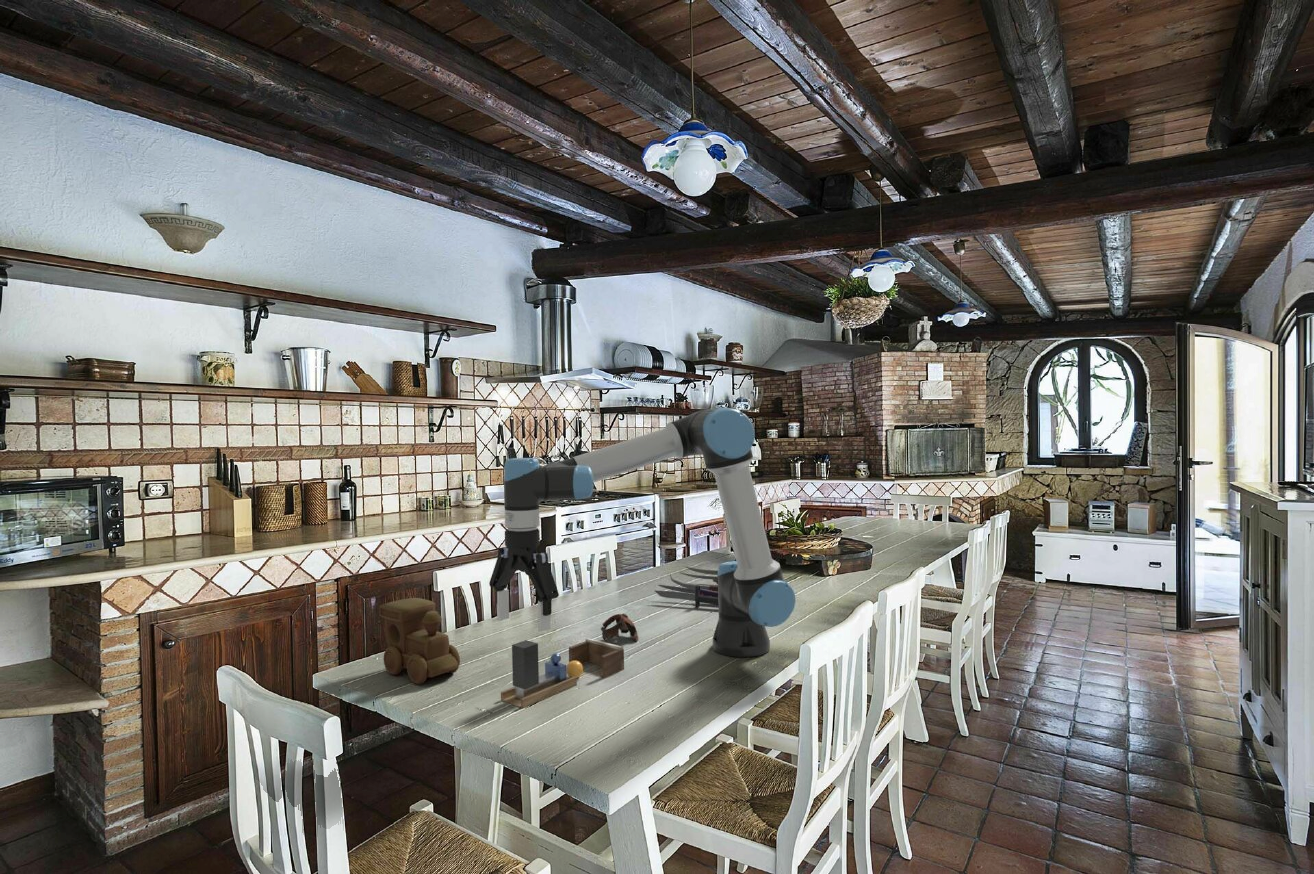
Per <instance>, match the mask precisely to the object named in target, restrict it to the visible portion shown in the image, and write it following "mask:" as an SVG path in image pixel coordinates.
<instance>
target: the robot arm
mask: <svg viewBox="0 0 1314 874" xmlns="http://www.w3.org/2000/svg"><path fill="white" fill-rule="evenodd" d="M755 438H756V435H755V428H754V424H753V423H752V421H751V419H750V418H749V417H748V416H747V415H746V414H745V413H743V412H742V411H740V410H739V409H735V408H730V407H718V408H717V407H716V408H705V409H701V410H698V411H695V412H693V413H691V414H689V415H686V416H684V417H682V418H679V419H676V420H674V421H671V422H670V421H669V422H667V423H666V426H665V427H664V428H661V429H658V430H655V431H652V432H649V433H646V434H642V435H639V436H635V437H633V438H629V439H627V440H623V441H620V442H617V443H614V444H610V445H608V446H604V447H602V448H599V449H594V450H592V451H589V452H586V453H582V454H579V455H576V456H573V457H570V458H566V459H564V460H561V461H552V462H549V463H547V464H545V465H544V466H542V465H541V466H540V463H539V459H538V458H535V457H513V458H508V459H507V460H506V461H505V463H504V467H503V469H504V471H503V473H504V474H503V496H504V497H503V499H504V500H503V501H504V503H503V505H504V506H503V507H504V527H505V528H506V529H505V531H504V546H503V547H499V548H498V549H497V558H496V561H495V564H494V567H493V571H492V574H491V577H490V579H489V583H488V584H489V587H490V588H494V590H495V597H496V598H495V600H496V601H495V602H496V603H495V604H496V606H497V607H496V608H497V612H496V613H497V615H496V616H497V617H496V618H497V621H498V622H500V621H503V620H508V619H510V592H509V591H510V590H509V589H508V588H509V586H508V585H509V584H510V583H511V581H512V579H513V577H514V575H515V574H516V572H517V571H520V572H522V573H524V574H525V575H527V576H528V577H529V579H530V581H531V583H532V585H533V587H534V589H535V591H536V593H537V594H538V596H539V600H537V616H538V618H537V622H538V623H537V626H538V628H537V630H538V632H540V633H542V632H545V631H547V630H551V615H552V612H553V611H552V600H553V599H555V598H558V597H559V596H560V594H559V591H558V587H557V585H556V582H555V578H554V575H553V572H552V569H551V566H550V563H549V555H548V552H546V551H545V552H541V553H538V551H537V547H538V546H539V545H540V535H541V534H540V529H539V526H540V523H541V522H540V501H558V500H559V501H561V500H562V501H563V500H566V501H567V500H576V501H578V500H583V499H584V500H585V499H590V497H591V496H592V495H593V493H594V483H598V482H601V481H604V480H605V479H609V478H612V477H615V476H618V475H621V474H624V473H627V472H628V473H629V472H630V471H634V470H637V469H640V468H643V467H646V466H649V465H652V464H656V463H657V462H662V461H664V460H667V459H670V458H673V457H674V458H676V459H678V460H679V459H683V458H686V457H690V456H691V457H692V456H700V455H701V456H702V458H703V460H704V465H705V468H706V470H707V471H709V472H710V473H712V474H713V476H714V478H715V482H716V486H717V487H716V488H717V490H718V494H719V498H720V502H721V507H722V510H723V514H724V517H725V521H726V524H727V525H726V526H727V529H728V534H729V538H730V542H731V546H732V549H733V553H734V557H735V560H736V561H735V560H733V561H725V562H722V563H720V564H719V565H718V567H717V568H718V569H717V571H718V575H716V577H717V578H718V584H717V586H718V605H717V606H718V620H717V624H716V627H715V629H714V633H713V636H712V649H713V650H714V651H715V652H716V653H718V654H721V655H723V656H728V657H735V658H748V657H749V658H750V657H756V656H757V657H758V656H762V655H764V654H767V653H768V652H769V651H770V650H771V640H770V637H769V635H768V631H767V627H768V628H774V627H777V626H778V627H779V626H781V625H782V624H784V623H785V622H786V621H787V620H788V619H789V618H790V617H791V615H792V613H793V612H794V610H795V607H796V601H797V600H796V593H795V591H794V589H793V587H792V586H791V585H790V584H789V583H788V582H786V581H785V580H784V576H783V575H784V574H783V572H782V568H781V565H780V563H779V562H778V561H776V560H774V559H773V558H772V554H771V549H770V546H769V542H768V537H767V533H766V530H765V526H764V521H763V517H762V513H761V510H760V505H759V501H758V497H757V493H756V490H755V485H754V482H753V478H752V474H751V469H750V464H751V462H752V460H753V459H754V456H753V455H754V454H753V451H752V447H753V444H754V442H755Z"/></svg>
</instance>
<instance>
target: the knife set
mask: <svg viewBox="0 0 1314 874" xmlns="http://www.w3.org/2000/svg"><path fill="white" fill-rule="evenodd" d="M683 567H684V568H686V569H688V570H690V571H692V572H696V573H699V575H697V574H691V573H685V572H679V574H681V575H684V576H687V577H690V578H695V579H702V580H712V582H714V583H716V584H717V585H713V584H711V585H709V586H708V585H700V584H689V583H685V582H681V581H679V580H676V579H675V578H672V573H670V580H671V581H672V583H674V584H676V585H678V586H673V585H666V584H664V585H663V584H658V586H659V587H661V588H664V589H666V590H654V592H655V593H656V594H657V595H658V596H659V597H660V598H665V599H676V600H678V599H679V600H686V601H690V602H692V601H693V602H694V605H695V609H696V608H697V609H699V608H700V605H701V604H710V605H714V606H715V605H717V606H718V578H717V575H718V570H715V569H702V568H695V567H690V566H685V565H683ZM700 574H705V575H700ZM710 575H711V576H710Z"/></svg>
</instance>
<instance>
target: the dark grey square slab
mask: <svg viewBox="0 0 1314 874" xmlns="http://www.w3.org/2000/svg"><path fill="white" fill-rule="evenodd" d="M511 655H512V656H511V659H512V660H511V661H512V662H511V663H512V668H511V669H512V670H511V671H512V686H513V687H514V692H515V698H518V699H522V698H524V697H527V696H529V695H531V694H534V693H536V692H539V691H541V690H543V689H546V688H548V687H550V686H553V685H555V684H558V683H560V682H562V681H565V680H567V679H568V677H567V676H568V675H567V668H566V667H567V665H566V664H564V663H562V662H561V660H562V657H561V655H560V654H559V653H553V654H551V656H550V658H549V660H550V661H546V662H545V663H544V665H545V666H544V668H545V669H544V670H545V671H544V673H543V674H542V675H540V674H539V673H540V672H539V643H537V642H534V641H531V640H526V639H525V640H522V641H519V642H516V643H513V644H511ZM560 662H561V663H560Z"/></svg>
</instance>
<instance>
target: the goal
mask: <svg viewBox="0 0 1314 874" xmlns="http://www.w3.org/2000/svg"><path fill="white" fill-rule="evenodd" d="M571 661H579V662H580V663H581V664H582V665H583V663H584V664H585V662H586V663H589V662H590V663H593V664H596V665H600V667H601V678H603V679H604V678H608V677H610V676H612V675H614V674H617V673H619V672H621V671H624V670H625V649H624V646H621V645H618V644H613V643H609V642H605V641H601V640H596V639H592V638H589V637H587V638H585V641H582V642H580V643H577V644H574V645H572V646H569V647H568V663H569V662H571Z"/></svg>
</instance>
